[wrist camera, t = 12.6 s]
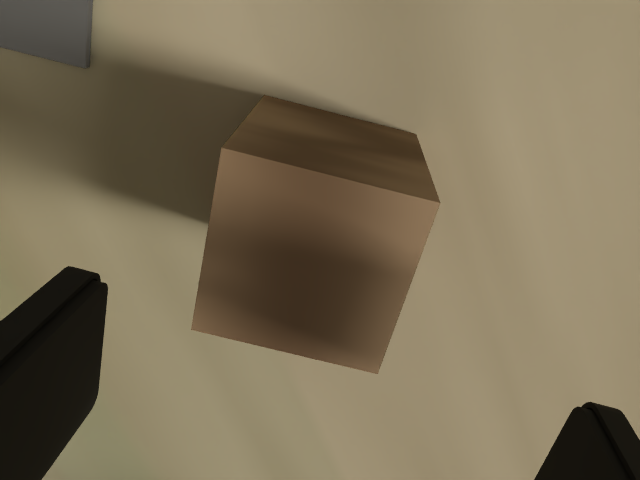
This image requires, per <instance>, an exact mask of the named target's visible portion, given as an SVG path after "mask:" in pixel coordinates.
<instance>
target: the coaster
mask: <svg viewBox="0 0 640 480" xmlns="http://www.w3.org/2000/svg"><path fill="white" fill-rule="evenodd" d="M92 5H93V0H0V47H2V48H6V49H10V50H14V51H18V52H22V53H26V54H30V55H34V56H37V57H41V58H45V59H49V60H53V61H57V62H61V63H65V64H69V65H73V66H77V67H81V68H88V67H90V47H91V26H92Z"/></svg>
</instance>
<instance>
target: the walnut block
mask: <svg viewBox="0 0 640 480" xmlns="http://www.w3.org/2000/svg"><path fill="white" fill-rule="evenodd" d="M439 205H440V201H439V198H438V195H437V192H436V189H435V186H434V184H433V181H432V178H431V175H430V172H429V169H428V166H427V164H426V161H425V158H424V155H423V152H422V149H421V147H420V144H419V141H418V138H417V135H416V134H413V133H409V132H406V131H402V130H398V129H394V128H390V127H386V126H382V125H378V124H375V123H371V122H367V121H363V120H359V119H355V118H351V117H348V116H344V115H340V114H336V113H332V112H328V111H324V110H320V109H317V108H313V107H309V106H305V105H301V104H297V103H293V102H289V101H286V100H282V99H278V98H274V97H270V96H266V95H264V96H263V97H262V99H261V100H260V101H259V102H258V103H257V105H256V106H255V107H254V108H253V110H252V111H251V112H250V113H249V114H248V116H247V117H246V118H245V119H244V121H243V122H242V123H241V124H240V126H239V127H238V128H237V129H236V130H235V132H234V133H233V134H232V135H231V137H230V138H229V139H228V140H227V141H226V143H225V144H224V145H223V146H222V148H221V153H220V159H219V165H218V171H217V177H216V183H215V189H214V195H213V201H212V207H211V213H210V219H209V225H208V231H207V237H206V243H205V249H204V256H203V262H202V268H201V274H200V280H199V286H198V292H197V298H196V304H195V310H194V316H193V322H192V328H191V330H195V331H199V332H203V333H207V334H211V335H216V336H220V337H224V338H228V339H232V340H237V341H241V342H245V343H249V344H253V345H258V346H262V347H266V348H270V349H274V350H279V351H283V352H287V353H291V354H295V355H300V356H304V357H308V358H312V359H316V360H321V361H325V362H329V363H333V364H337V365H342V366H346V367H350V368H354V369H358V370H363V371H367V372H371V373H375V374H378V372H379V369H380V366H381V363H382V361H383V358H384V355H385V353H386V350H387V347H388V344H389V342H390V339H391V336H392V333H393V331H394V328H395V325H396V323H397V320H398V317H399V314H400V312H401V309H402V306H403V303H404V301H405V298H406V295H407V293H408V290H409V287H410V284H411V282H412V279H413V276H414V274H415V271H416V268H417V265H418V263H419V260H420V257H421V254H422V252H423V249H424V246H425V244H426V241H427V238H428V235H429V233H430V230H431V227H432V225H433V222H434V219H435V216H436V214H437V211H438V208H439Z"/></svg>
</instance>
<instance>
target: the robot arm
mask: <svg viewBox="0 0 640 480" xmlns="http://www.w3.org/2000/svg"><path fill="white" fill-rule="evenodd" d="M107 294H108V286H107V284H106V283H103V282H101V279H100V275H99V274H98V273H94V272H90V271H86V270H83V269H79V268H75V267H71V266H68V267H66V268H64V269H63V270H62V271H61V272H60V273H58V274H57V275H56V276H55V277H53V278H52V279H51V280H50V281H49V282H47V283H46V284H45V285H44V286H43V287H41V288H40V289H39V290H38V291H37V292H35V293H34V294H33V295H32V296H31V297H29V298H28V299H27V300H26V301H24V302H23V303H22V304H21V305H20V306H18V307H17V308H16V309H15V310H14V311H12V312H11V313H10V314H9V315H8V316H6V317H5V318H4V319H3V320H1V321H0V480H42V478H43V477H44V476H45V474H46V473H47V471H48V470H49V469H50V467H51V466H52V464H53V463H54V462H55V460H56V459H57V457H58V456H59V455H60V453H61V452H62V450H63V449H64V448H65V446H66V445H67V443H68V442H69V441H70V439H71V438H72V436H73V435H74V434H75V432H76V431H77V429H78V428H79V427H80V425H81V424H82V422H83V421H84V420H85V418H86V417H87V415H88V414H89V413H90V411H91V410H92V408H93V406H94V404H95V401H96V399H97V395H98V390H99V379H100V368H101V358H102V347H103V337H104V326H105V315H106V305H107ZM534 480H640V440H639V438H638V437H637V435H636V433H635V432H634V430H633V428H632V427H631V425H630V424H629V422H628V420H627V419H626V417H625V415H624V414H623V413H622V412H621V411H620V410H618V409H615V408H612V407H608V406H604V405H600V404H596V403H592V402H587V403H585V404H584V405H583V406H582V407H576V408H574V409H573V410H572V412H571V413H570V415H569V417H568V419H567V421H566V423H565V424H564V426H563V428H562V430H561V432H560V434H559V435H558V437H557V439H556V441H555V443H554V445H553V446H552V448H551V450H550V452H549V454H548V456H547V457H546V459H545V461H544V463H543V465H542V467H541V468H540V470H539V472H538V474H537V476H536V477H535V479H534Z"/></svg>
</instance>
